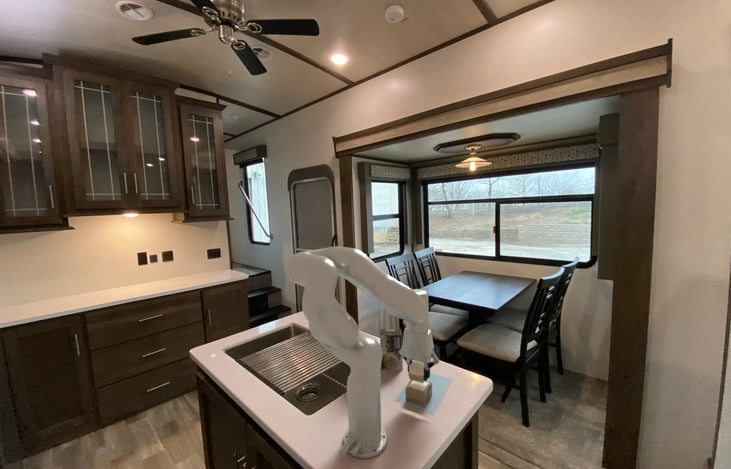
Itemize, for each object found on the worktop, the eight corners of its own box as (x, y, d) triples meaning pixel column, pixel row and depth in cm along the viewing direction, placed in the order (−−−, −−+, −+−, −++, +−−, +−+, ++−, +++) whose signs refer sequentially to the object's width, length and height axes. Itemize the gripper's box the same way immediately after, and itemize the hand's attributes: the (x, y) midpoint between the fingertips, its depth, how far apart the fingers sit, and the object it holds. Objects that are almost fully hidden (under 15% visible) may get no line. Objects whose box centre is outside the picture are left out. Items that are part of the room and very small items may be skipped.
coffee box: (402, 364, 124) (401, 328, 122) (402, 372, 117) (401, 334, 116) (381, 363, 125) (380, 328, 123) (380, 372, 118) (379, 334, 117)
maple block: (423, 383, 95) (422, 369, 95) (409, 379, 98) (408, 365, 98) (428, 376, 100) (428, 362, 99) (415, 372, 102) (414, 358, 102)
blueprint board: (433, 417, 92) (433, 399, 91) (394, 402, 99) (394, 386, 99) (452, 381, 110) (452, 366, 110) (418, 371, 118) (418, 357, 117)
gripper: (390, 325, 99) (392, 375, 100) (438, 335, 90) (439, 390, 91) (400, 318, 105) (401, 365, 107) (445, 326, 96) (446, 378, 97)
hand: (418, 376), depth 99 cm, fingers closed on maple block, 5 cm apart
